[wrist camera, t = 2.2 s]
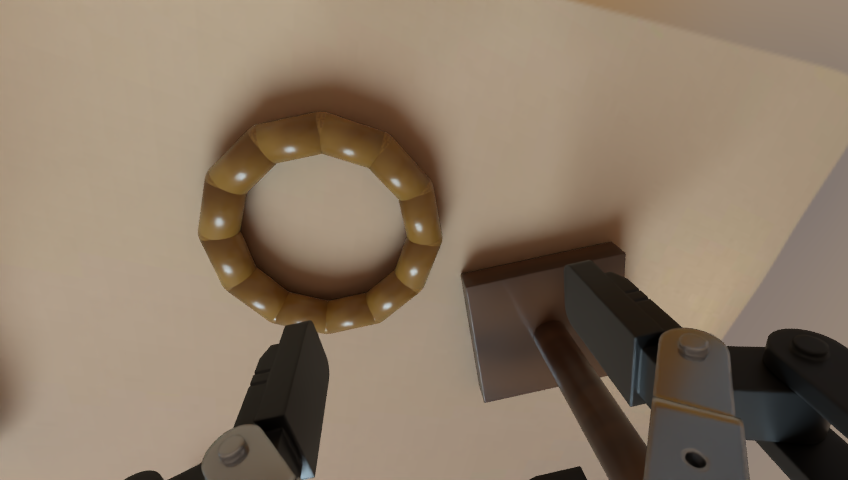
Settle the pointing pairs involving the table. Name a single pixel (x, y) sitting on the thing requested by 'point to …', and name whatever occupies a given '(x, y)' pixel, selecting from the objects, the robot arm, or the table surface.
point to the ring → (298, 141)
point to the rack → (549, 349)
